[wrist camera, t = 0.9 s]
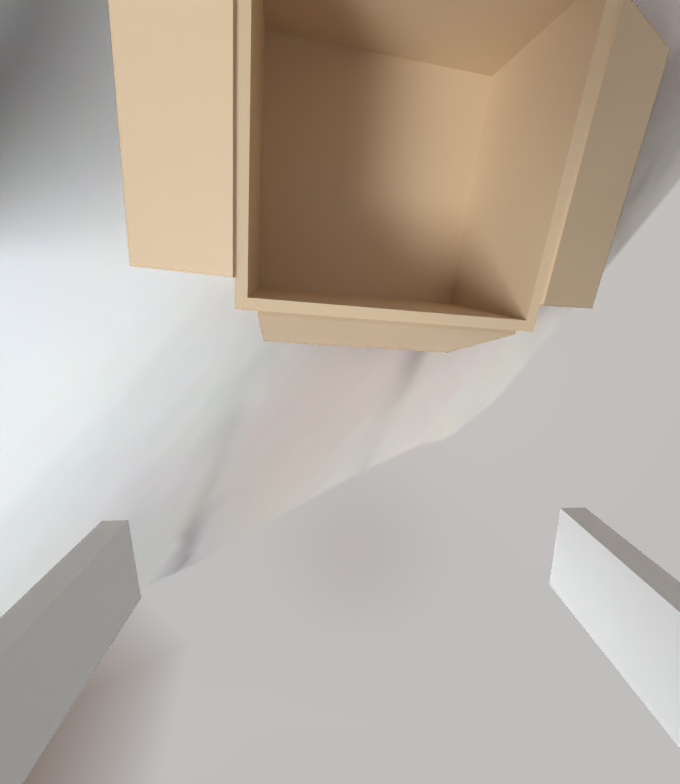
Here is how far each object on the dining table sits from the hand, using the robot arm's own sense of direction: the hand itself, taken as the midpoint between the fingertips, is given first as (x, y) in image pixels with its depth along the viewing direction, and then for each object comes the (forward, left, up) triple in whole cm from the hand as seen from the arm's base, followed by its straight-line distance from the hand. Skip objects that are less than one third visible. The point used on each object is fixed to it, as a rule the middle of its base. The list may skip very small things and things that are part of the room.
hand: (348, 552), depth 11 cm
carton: (-7, +13, -30) cm, 34 cm away
